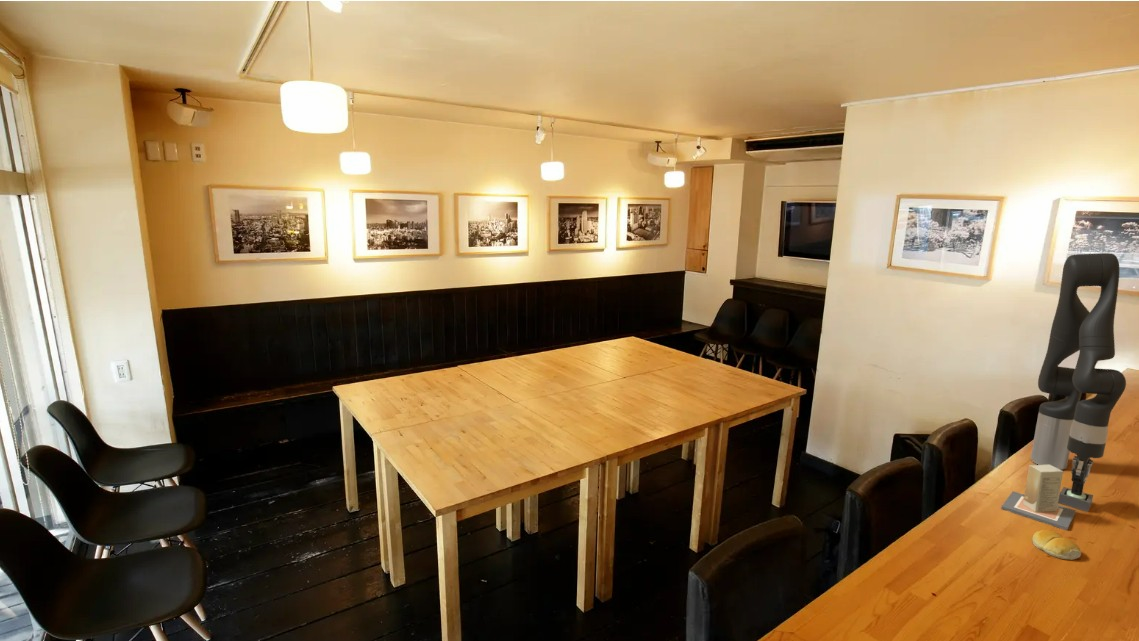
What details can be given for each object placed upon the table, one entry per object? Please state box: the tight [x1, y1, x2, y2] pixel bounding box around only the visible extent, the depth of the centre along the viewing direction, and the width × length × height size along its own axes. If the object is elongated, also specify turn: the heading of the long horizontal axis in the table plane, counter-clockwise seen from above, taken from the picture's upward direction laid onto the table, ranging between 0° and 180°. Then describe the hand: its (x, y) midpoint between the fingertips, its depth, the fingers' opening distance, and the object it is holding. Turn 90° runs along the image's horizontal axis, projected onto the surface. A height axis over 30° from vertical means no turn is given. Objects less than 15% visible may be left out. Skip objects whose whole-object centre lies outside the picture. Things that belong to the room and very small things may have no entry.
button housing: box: [1058, 486, 1094, 513], centre depth 156 cm, size 6×6×3 cm
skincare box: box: [1023, 464, 1064, 512], centre depth 151 cm, size 6×4×12 cm
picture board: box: [1000, 490, 1077, 531], centre depth 152 cm, size 13×14×1 cm
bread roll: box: [1032, 529, 1082, 561], centre depth 135 cm, size 8×9×4 cm
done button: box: [1067, 490, 1086, 500], centre depth 155 cm, size 4×4×2 cm
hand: (1076, 493), depth 155 cm, fingers closed
